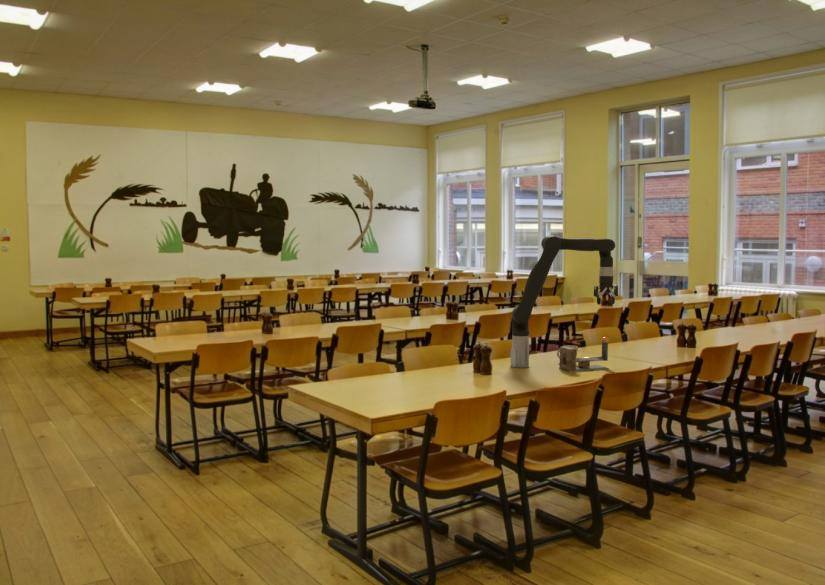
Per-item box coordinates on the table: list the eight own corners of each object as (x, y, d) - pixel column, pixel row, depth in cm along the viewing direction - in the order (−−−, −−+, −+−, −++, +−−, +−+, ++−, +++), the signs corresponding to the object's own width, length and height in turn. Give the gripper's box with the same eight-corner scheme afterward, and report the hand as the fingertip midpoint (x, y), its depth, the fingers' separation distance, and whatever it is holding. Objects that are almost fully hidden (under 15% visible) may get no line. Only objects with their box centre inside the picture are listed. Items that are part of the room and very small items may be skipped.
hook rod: (575, 363, 387) (576, 338, 386) (571, 362, 391) (572, 338, 390) (609, 360, 394) (610, 337, 393) (605, 359, 397) (606, 336, 396)
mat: (569, 371, 382) (569, 370, 382) (559, 368, 393) (559, 367, 393) (608, 369, 390) (608, 368, 390) (597, 365, 400) (597, 364, 400)
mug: (573, 365, 401) (574, 347, 400) (553, 363, 409) (553, 345, 408) (580, 363, 408) (580, 346, 407) (559, 361, 415) (559, 344, 415)
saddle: (583, 369, 388) (583, 360, 388) (578, 368, 393) (578, 359, 393) (589, 369, 389) (589, 360, 389) (584, 367, 394) (584, 358, 394)
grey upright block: (569, 371, 383) (569, 349, 382) (559, 368, 392) (559, 346, 391) (575, 371, 384) (576, 348, 383) (566, 368, 393) (566, 346, 393)
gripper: (598, 275, 393) (598, 305, 394) (621, 275, 397) (620, 304, 398) (591, 275, 400) (590, 304, 401) (613, 274, 404) (612, 303, 406)
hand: (605, 304), depth 400 cm, fingers open, 8 cm apart
